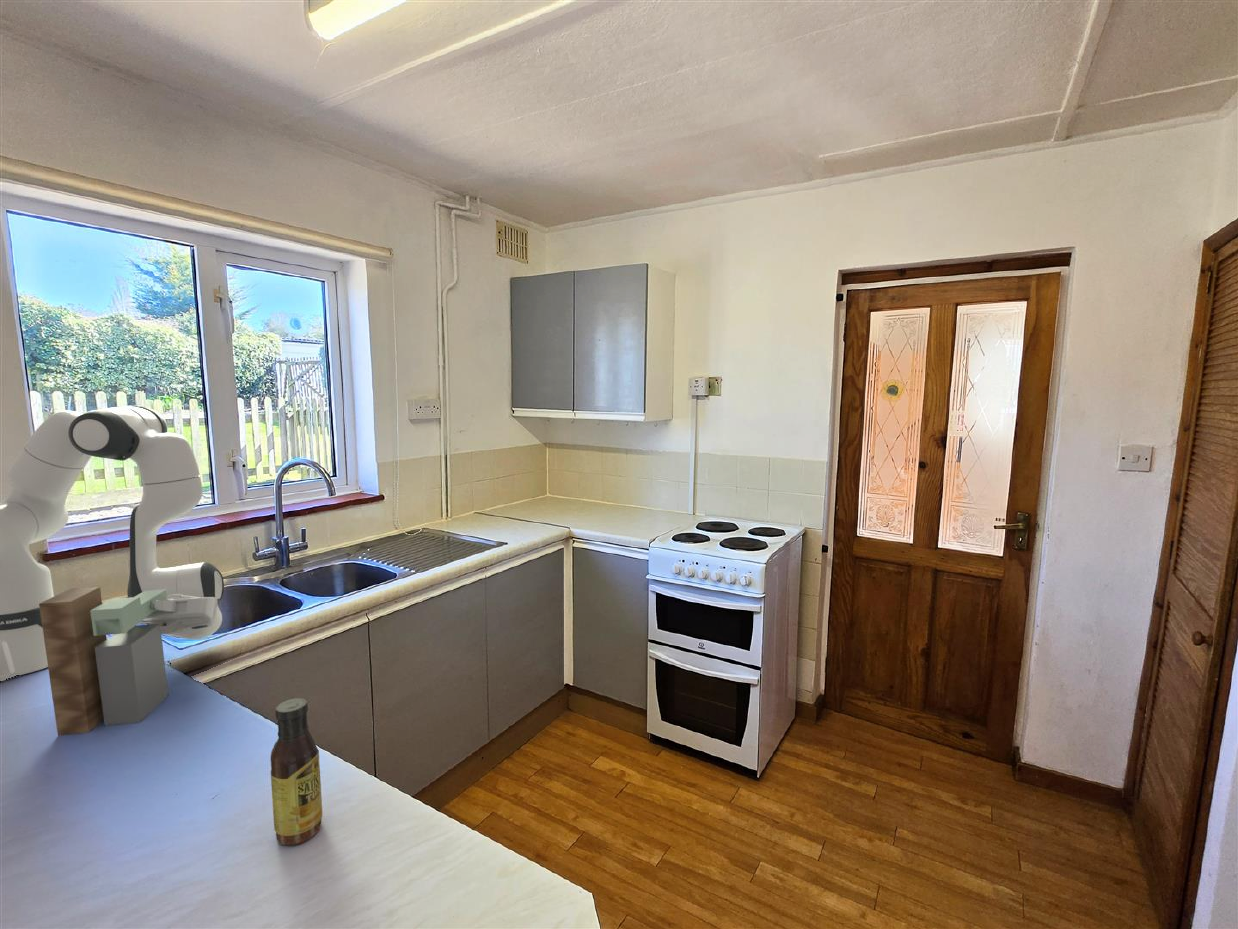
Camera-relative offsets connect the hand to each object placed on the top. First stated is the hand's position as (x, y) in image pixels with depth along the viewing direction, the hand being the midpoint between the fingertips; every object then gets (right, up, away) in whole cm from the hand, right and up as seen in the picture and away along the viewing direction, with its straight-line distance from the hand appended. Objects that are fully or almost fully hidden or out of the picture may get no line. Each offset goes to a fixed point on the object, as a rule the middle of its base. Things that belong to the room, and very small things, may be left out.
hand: (138, 605), depth 119 cm
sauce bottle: (+51, -26, -33) cm, 66 cm away
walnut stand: (-6, -22, -5) cm, 23 cm away
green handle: (0, -2, -1) cm, 3 cm away
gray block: (+1, -21, -1) cm, 21 cm away
